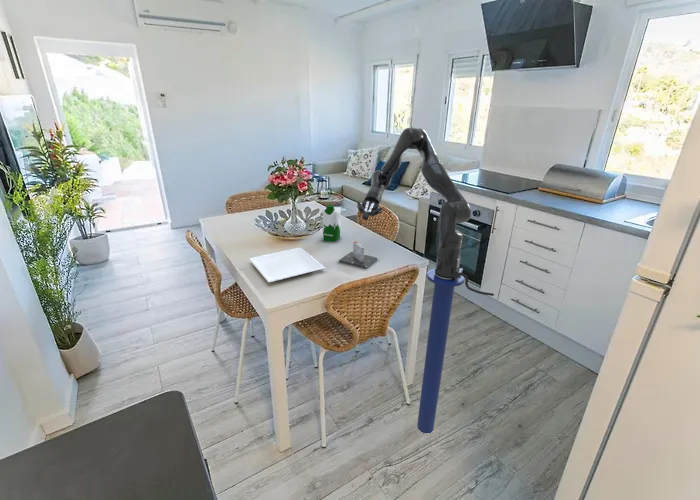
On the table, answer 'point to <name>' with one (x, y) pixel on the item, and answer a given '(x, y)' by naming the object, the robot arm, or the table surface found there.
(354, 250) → the grey rectangular block
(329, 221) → the milk carton
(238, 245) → the table surface
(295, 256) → the plate
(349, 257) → the panel
